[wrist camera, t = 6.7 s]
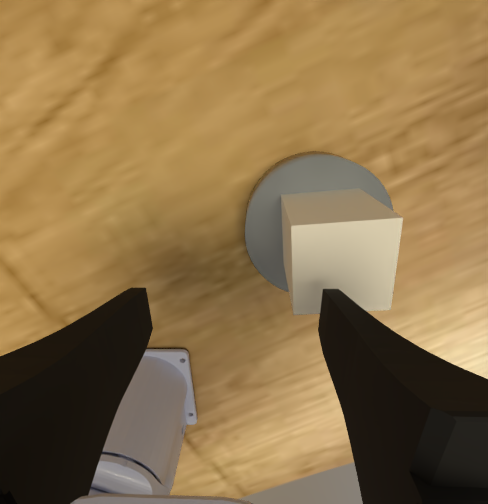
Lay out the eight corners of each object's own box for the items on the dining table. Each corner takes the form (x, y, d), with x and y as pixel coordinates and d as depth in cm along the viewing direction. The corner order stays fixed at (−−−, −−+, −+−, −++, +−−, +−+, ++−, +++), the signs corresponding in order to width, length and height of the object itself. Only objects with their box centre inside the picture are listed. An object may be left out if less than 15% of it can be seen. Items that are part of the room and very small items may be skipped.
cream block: (354, 258, 19) (390, 309, 14) (283, 263, 19) (293, 314, 14) (359, 188, 17) (403, 217, 12) (280, 194, 17) (291, 225, 12)
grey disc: (379, 255, 22) (400, 278, 19) (264, 283, 24) (265, 308, 21) (364, 133, 19) (386, 135, 16) (230, 173, 20) (226, 183, 17)
